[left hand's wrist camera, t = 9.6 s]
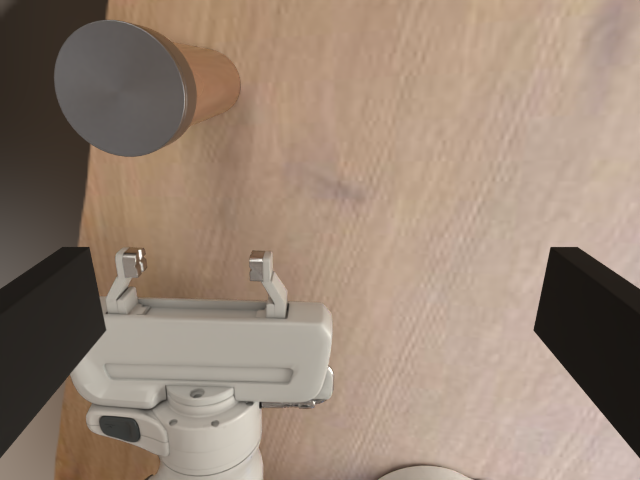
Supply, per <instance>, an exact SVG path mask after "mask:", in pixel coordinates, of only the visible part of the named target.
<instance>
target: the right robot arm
mask: <svg viewBox="0 0 640 480" xmlns="http://www.w3.org/2000/svg"><path fill="white" fill-rule="evenodd" d="M145 254H146V253H145V249H144V248H134V247H123V248H121V249H120V250H119V251H118V252H117V253H116V256H115V262H116V268H117V275H118V276H117V277H116V279H115V281H114V283H113V285H112V287H111V289H110V291H109V293H108V295H107V296H99V297H100V302H101V306H102V311H103V316H104V321H105V326H106V331H105V333H104V334H103V335H102V336H101V338H100V339H99V340H98V341H97V342H96V344H95V345H94V346H93V347H92V348H91V350H90V351H89V352H88V353H87V354H86V356H85V357H84V358H83V359H82V360H81V362H80V363H79V364H78V365H77V366H76V368H75V369H74V370H73V371H72V372H71V374H70V376H71V379H72V382H73V384H74V386H75V388H76V390H77V391H78V392H79V394H80V395H81V396H82V397H83V398H84V399H86V400H87V401H89V402H91V403H92V404H91V406H90V408H89V410H88V412H87V415H86V422H87V426H88V428H89V429H90V430H91V431H92V432H94V433H96V434H99V435H102V436H106V437H110V438H113V439H117V440H120V441H124V442H127V443H130V444H133V445H136V446H138V447H140V448H143V449H145V450H147V451H149V452H151V453H153V454H156V455H158V456H159V458H160V467H159V469H158V472H157V473H156V474H155V475H150V476H149V477H147V478H146V479H145V480H263V460H262V455H261V452H260V450H259V445H260V441H261V436H262V408H283V407H284V408H286V407H299V408H300V409H310V408H314V407H315V404H319V403H322V402H324V401H326V400H327V399H329V398H330V397H331V395H332V393H333V389H334V373H333V370H332V368H331V367H330V366H329V365H328V363H329V358H330V352H331V344H332V314H331V312H330V311H329V310H328V309H327V307H326V306H325V305H324V304H323V303H321V302H297V301H287V289H286V288H285V286H284V285H283V283H282V282H281V280H280V279H279V277H278V276H277V274H276V273H275V271H273V254H272V251H252V254H251V255H250V261H249V267H250V268H251V270H250V281H261V283H262V284H263V286H264V287H265V289H266V291H267V292H268V294H269V296H268V300H267V301H260V300H223V299H186V298H149V297H137V292H136V288H135V287H129V288H128V285H129V283H130V281H131V279H132V278H138V277H139V276H140V275H141V274H142V273H141V272H143V271H145V269H146V268H147V261H146V259H145V257H144V256H145ZM378 480H473V479H471V478H468V477H466V476H465V475H463V474H461V473H459V472H456V471H454V470H451V469H448V468H443V467H438V466H413V467H407V468H403V469H399V470H396V471H393V472H391V473H389V474H386V475H385V476H383V477H381V478H379V479H378Z"/></svg>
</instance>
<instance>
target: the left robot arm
mask: <svg viewBox="0 0 640 480" xmlns="http://www.w3.org/2000/svg"><path fill="white" fill-rule="evenodd" d="M105 331H106V326H105V321H104V316H103V311H102V306H101V302H100V297H99V292H98V287H97V282H96V277H95V272H94V267H93V263H92V258H91V253H90V248H89V247H62V248H60V249H59V250H57V251H56V252H54V253H53V254H52V255H50V256H49V257H47V258H46V259H44V260H43V261H41V262H40V263H38V264H37V265H35V266H34V267H32V268H31V269H29V270H28V271H26V272H25V273H23V274H22V275H20V276H19V277H17V278H16V279H14V280H13V281H12V282H10V283H9V284H7V285H6V286H4V287H3V288H1V289H0V458H1V457H2V455H3V454H4V453H5V452H6V451H7V449H8V448H9V447H10V446H11V445H12V443H13V442H14V441H15V440H16V439H17V437H18V436H19V435H20V434H21V433H22V431H23V430H24V429H25V428H26V427H27V425H28V424H29V423H30V422H31V421H32V419H33V418H34V417H35V416H36V414H37V413H38V412H39V411H40V410H41V408H42V407H43V406H44V405H45V404H46V402H47V401H48V400H49V399H50V398H51V396H52V395H53V394H54V393H55V392H56V390H57V389H58V388H59V387H60V386H61V384H62V383H63V382H64V381H65V380H66V378H67V377H68V376H69V375H70V374H71V372H72V371H73V370H74V369H75V368H76V366H77V365H78V364H79V363H80V362H81V360H82V359H83V358H84V357H85V356H86V354H87V353H88V352H89V351H90V350H91V348H92V347H93V346H94V345H95V344H96V342H97V341H98V340H99V339H100V338H101V336H102V335H103V334H104V333H105ZM534 331H535V333H536V334H537V335H538V336H539V338H540V339H541V340H542V341H543V342H544V344H545V345H546V346H547V347H548V348H549V350H550V351H551V352H552V353H553V354H554V356H555V357H556V358H557V359H558V360H559V362H560V363H561V364H562V365H563V366H564V368H565V369H566V370H567V371H568V372H569V374H570V375H571V376H572V377H573V378H574V380H575V381H576V382H577V383H578V384H579V386H580V387H581V388H582V389H583V390H584V392H585V393H586V394H587V395H588V396H589V398H590V399H591V400H592V401H593V402H594V404H595V405H596V406H597V407H598V408H599V410H600V411H601V412H602V413H603V415H604V416H605V417H606V418H607V419H608V421H609V422H610V423H611V424H612V425H613V427H614V428H615V429H616V430H617V431H618V433H619V434H620V435H621V436H622V437H623V439H624V440H625V441H626V442H627V443H628V445H629V446H630V447H631V448H632V449H633V451H634V452H635V453H636V454H637V455H638V457H639V458H640V289H639V288H637V287H636V286H634V285H633V284H631V283H630V282H629V281H627V280H626V279H624V278H623V277H621V276H620V275H618V274H617V273H615V272H614V271H612V270H611V269H609V268H608V267H606V266H605V265H603V264H602V263H600V262H599V261H597V260H596V259H594V258H593V257H591V256H590V255H588V254H587V253H586V252H584V251H583V250H581V249H580V248H578V247H551V248H550V253H549V258H548V262H547V267H546V272H545V277H544V282H543V287H542V292H541V297H540V302H539V306H538V311H537V316H536V321H535V326H534Z"/></svg>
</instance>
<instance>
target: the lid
mask: <svg viewBox="0 0 640 480" xmlns="http://www.w3.org/2000/svg"><path fill="white" fill-rule="evenodd" d="M54 85H55V91H56V96H57V99H58V102H59V105H60V107H61V109H62V112H63V114H64V115H65V117H66V119H67V120H68V122H69V123H70V124H71V126H72V127H73V128H74V129H75V131H76V132H77V133H78V134H79V135H80V136H81V137H83V138H84V139H85V140H86V141H87V142H89V143H90V144H92V145H93V146H95V147H97V148H99V149H100V150H103V151H105V152H107V153H110V154H114V155H118V156H125V157H135V156H142V155H146V154H149V153H152V152H154V151H157V150H159V149H161V148H163V147H165V146H167V145H169V144H171V143H173V142H174V141H176V140H177V139H178V138H179V137H181V136H182V135H183V133H184V132H185V131H186V130H187V128H188V127H189V125H190V123H191V121H192V119H193V116H194V113H195V109H196V104H197V90H196V84H195V79H194V76H193V73H192V70H191V68H190V66H189V64H188V62H187V60H186V59H185V57H184V55H183V54H182V53H181V52H180V50H179V49H178V48H177V47H176V46H175V45H174V44H173V43H172V42H171V41H170V40H168V39H167V38H166V37H165V36H163V35H161V34H160V33H158V32H156V31H154V30H152V29H149V28H146V27H143V26H139V25H135V24H131V23H127V22H123V21H117V20H101V21H95V22H92V23H89V24H86V25H84V26H82V27H80V28H79V29H78V30H76V31H75V32H74V33H72V34H71V35H70V36H69V37H68V39H67V40H66V41H65V43H64V44H63V46H62V47H61V49H60V51H59V54H58V56H57V59H56V64H55V70H54Z"/></svg>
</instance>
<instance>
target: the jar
mask: <svg viewBox="0 0 640 480" xmlns="http://www.w3.org/2000/svg"><path fill="white" fill-rule="evenodd" d="M172 43H173V44H174V45H175V46H176V47H177V48H178V49H179V50H180V52H181V53H182V54H183V55H184V57H185V59H186V60H187V62H188V64H189V66H190V68H191V70H192V73H193V76H194V79H195V84H196V90H197V104H196V109H195V113H194V116H193V119H192V121H191V123H190V125H189V127H190V126H192V125H195V124H197V123H200V122H202V121H204V120H207V119H209V118H212V117H214V116H217V115H219V114H221V113H224V112H226V111H227V110H229V109H230V108H231V107H232V106H233V105H234V104H235V102H236V101H237V99H238V96H239V93H240V77H239V74H238V71H237V69H236V67H235V65H234V64H233V63H232V61H231V60H230V59H229V58H228V57H226V56H225V55H224V54H222V53H220V52H218V51H215V50H210V49H205V48H200V47H195V46H190V45H185V44H180V43H175V42H172Z"/></svg>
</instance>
